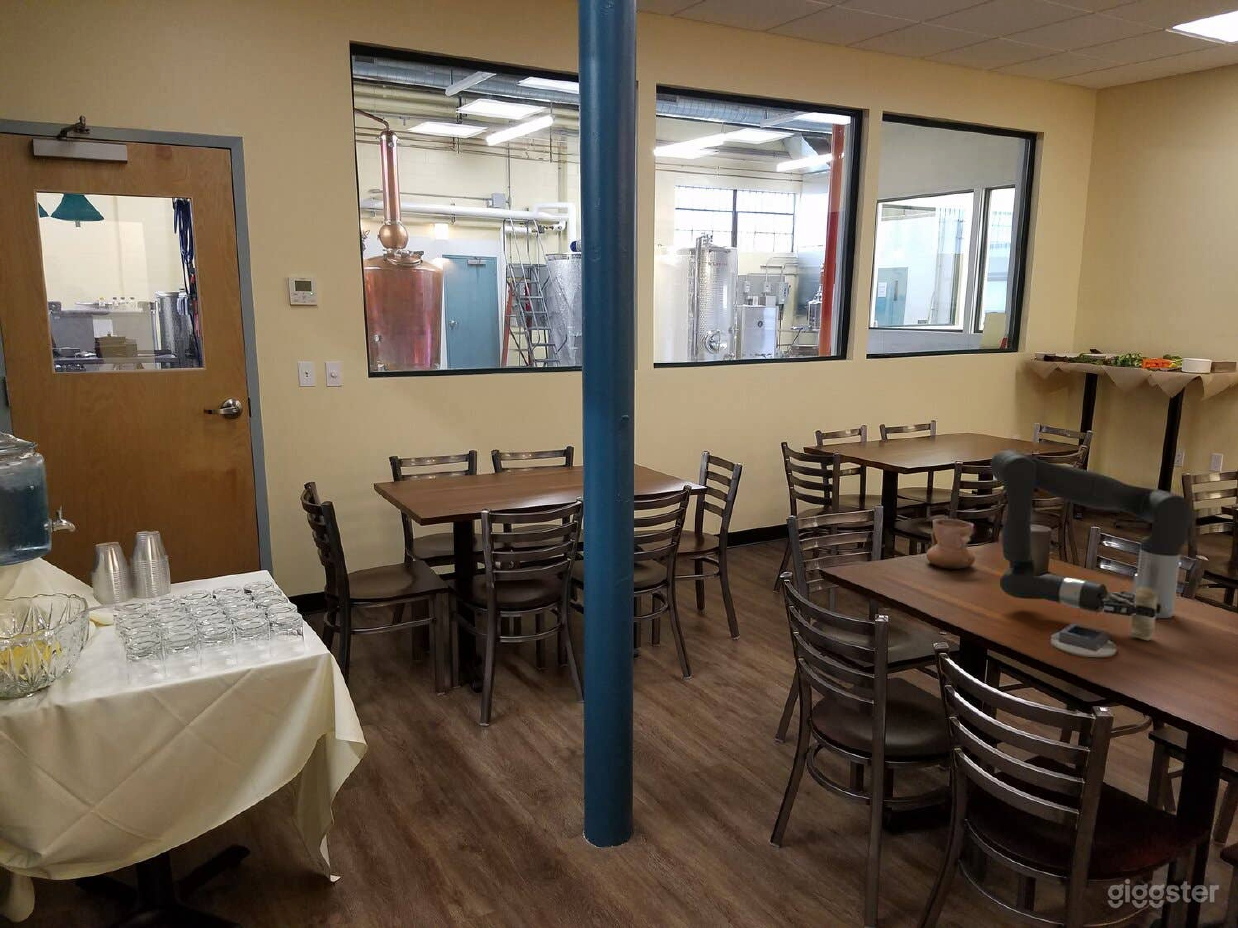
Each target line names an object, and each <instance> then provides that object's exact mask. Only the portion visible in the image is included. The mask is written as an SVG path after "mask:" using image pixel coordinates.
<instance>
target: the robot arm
mask: <svg viewBox="0 0 1238 928" xmlns="http://www.w3.org/2000/svg"><path fill="white" fill-rule="evenodd" d="M989 467H990V472H991V474H992V475H993V477H994V479H995V480H997V481H998V482H999V483H1001V485H1003V486H1004V487H1005V493H1006V498H1007V510H1006V515H1005V518H1004V522H1003V526H1002V532H1001V533H1002V534H1001V535H1002V536H1001V537H1002V554H1003V557H1004V559H1005V560H1006V561H1008V562H1009V569H1008V570H1006V572H1004V573H1003V574H1002V576H1001V577H1000V578H999V586H1000V588H1001V590H1002V591H1003V592H1004V593H1005V594H1007V595H1008V596H1010V597H1012V598H1017V599H1025V600H1026V599H1027V600H1028V599H1029V600H1045V601H1049V602H1054V603H1058V604H1062V605H1065V606H1068V607H1070V608H1071V607H1072V608H1076V609H1079V610H1084V611H1087V612H1092V613H1096V614H1098V613H1101V612H1102V611H1103V612H1104V613H1106V614H1114V615H1121V616H1128V617H1132V616H1133V615H1137V614H1138V615H1142V616H1147V617H1151V618H1154V617H1155V614H1156V617H1155V619H1168V618H1172V617H1173V616H1174V610H1175V609H1174V608H1175V603H1176V602H1175V601H1176V594H1177V585H1178V578H1179V571H1180V562H1181V561H1180V560H1181V553H1182V549H1183V547H1184V545H1185V544H1186V542H1187V537H1188V533H1189V528H1190V522H1191V506H1190V503H1189V501H1188V500H1187V499H1186V498H1185V497H1183V496H1181V495H1179V494H1176V493H1173V492H1169V491H1167V490H1162V489H1155V488H1147V487H1141V486H1136V485H1130V484H1127V483H1125V482H1122V481H1120V480H1118V479H1116V478H1113V477H1111V476H1108V475H1105V474H1101V473H1098V472H1095V471H1094V472H1093V471H1091V470H1086V469H1081V468H1077V467H1072V466H1067V465H1063V464H1062V465H1061V464H1056V463H1051V462H1047V461H1044V460H1040V459H1037V458H1034V457H1031V456H1029V455H1027V454H1024V453H1022V452H1021V451H1020V452H1019V451H1017V450H1015V449H1013V450H1012V449H1008V450H1002V451H1000V452H997V453H996V454H995V455H993V457H992V459H991V460H990V464H989ZM1035 489H1039V490H1042V491H1044V492H1046V493H1049V494H1050V495H1053V496H1055V497H1056V498H1060V499H1062V500H1065V501H1067V502H1070V503H1073V504H1076V505H1079V506H1084V507H1088V508H1092V509H1097V510H1108V511H1109V510H1110V511H1111V510H1114V511H1120V512H1124V513H1125V514H1130V515H1133V516H1135V517H1137V518H1140V519H1143V520H1144V521H1146V522H1148V523H1151V524H1152V528H1151V532H1150V535H1149V536H1145V537H1143V538H1142V539H1141V541H1140V546H1139V547H1140V550H1139V557H1138V567H1137V573H1135V574H1134V575H1133V583H1132V591H1131V592H1132V593H1131V592H1127V591H1124V590H1122V591H1120V592H1116V591H1114V592H1109V591H1108V590H1107V586H1106V585H1105V584H1104V583H1100V582H1095V581H1090V580H1086V579H1082V578H1075V577H1067V576H1062V575H1059V574H1058V575H1057V574H1052V573H1045V574H1041V575H1040V576H1037V574H1036V569H1035V565H1034V561H1033V558H1032V555H1031V525H1032V524H1031V522H1032V509H1033V501H1034V500H1033V499H1034V493H1035ZM1140 586H1142V587H1146V588H1151V589H1156V590H1159V593H1158V601H1157V608H1156V609H1154V608H1149V607H1145V606H1140V605H1139V606H1138V605H1137V604H1134V599H1135V591H1136V589H1138V588H1139V587H1140Z"/></svg>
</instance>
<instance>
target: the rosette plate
mask: <svg viewBox="0 0 1238 928" xmlns="http://www.w3.org/2000/svg"><path fill="white" fill-rule="evenodd" d="M1109 634H1110V632H1109V631H1105V630H1100V629H1096V628H1093V627H1089V626H1084V625H1080V624H1076V623H1071V624H1069V625H1067V626H1065V627H1064V628H1063V629H1062V630H1059V631H1057V632H1055V633H1053V634H1052V635H1051V636H1050V644H1051V645H1052V646H1053V647H1054V648H1056V649H1057V648H1058V649H1057V650H1059V651H1061V652H1064V653H1067V654H1069V653H1070V655H1073V656H1077V657H1084V658H1089V657H1097V658H1096V659H1099V658H1098V657H1101V658H1100V659H1103V658H1102V657H1108V658H1111V657H1114V656H1115V655H1116V654H1117V645H1116V644H1115V643H1114V642H1113V641H1111V640H1110V639H1109V636H1110V635H1109ZM1113 655H1114V656H1113Z"/></svg>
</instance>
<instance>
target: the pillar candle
mask: <svg viewBox="0 0 1238 928" xmlns="http://www.w3.org/2000/svg"><path fill="white" fill-rule="evenodd" d="M1052 531H1053V530H1052V528H1051V527H1048V526H1044V525H1041V524H1040V525H1039V524H1037V523H1035V524H1031V555H1032V558H1033V561H1034V565H1035V569H1036V575H1045V574H1049V565H1050V553H1051V541H1052V534H1053V533H1052Z"/></svg>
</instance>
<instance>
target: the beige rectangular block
mask: <svg viewBox="0 0 1238 928" xmlns="http://www.w3.org/2000/svg"><path fill="white" fill-rule="evenodd" d="M1158 593H1159V590H1156V589H1151V588H1146V587H1142V586H1140V587H1139V588H1138V589H1136V591H1135V599H1134V604H1137V605H1138V606H1139V605H1140V606H1145V607H1149V608H1154V609H1156V608H1157V601H1158ZM1131 617H1132V618H1131V625H1130V633H1129V634H1130V635H1129V636H1130V637H1133V638H1136V639H1137V638H1138V639H1140V640H1144V641H1150V640H1151V639H1152V638H1153V637H1154V632H1155V623H1156V618H1155V617H1156V614H1155V617H1154V618H1151V617H1147V616H1142V615H1138V614H1137V615H1133V614H1132V615H1131Z"/></svg>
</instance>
